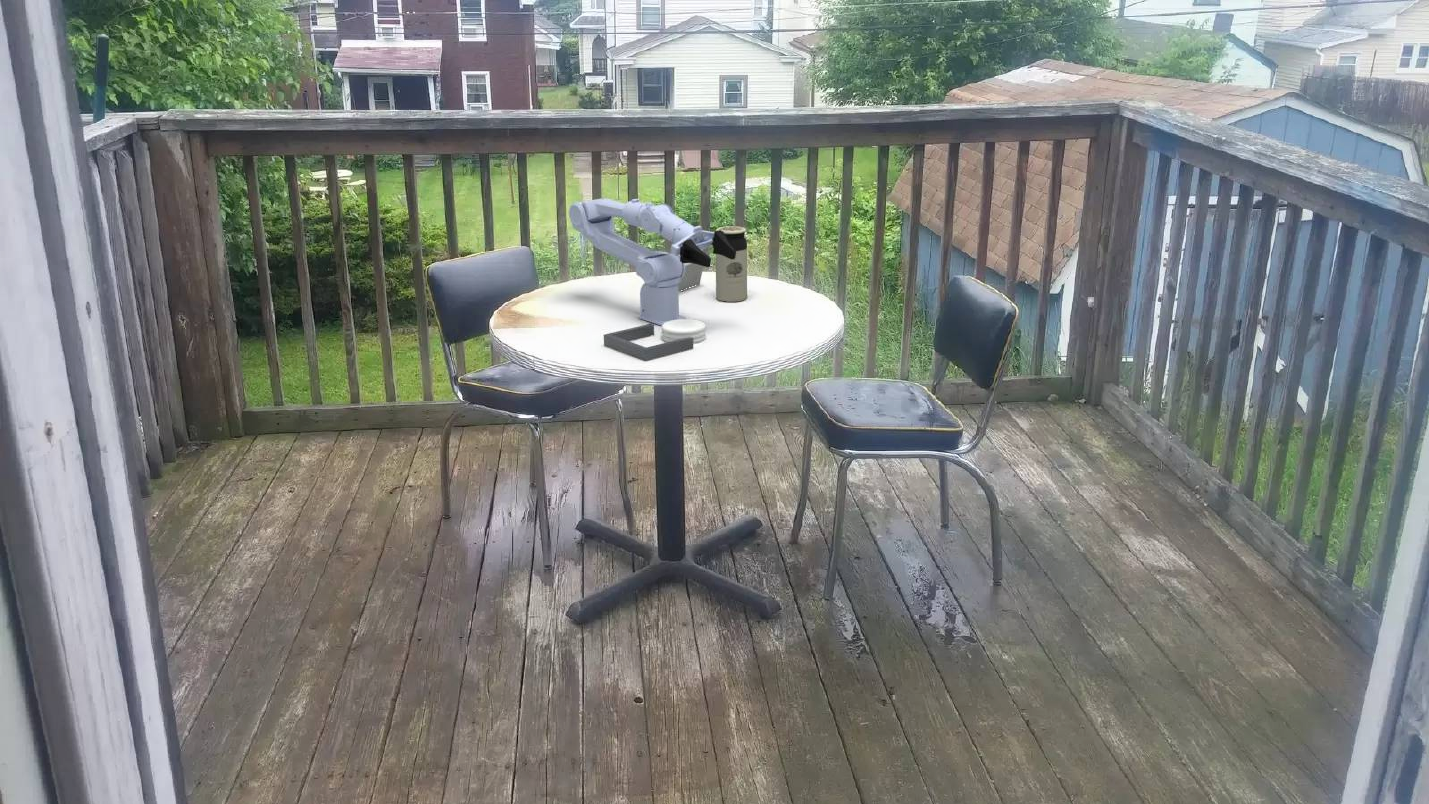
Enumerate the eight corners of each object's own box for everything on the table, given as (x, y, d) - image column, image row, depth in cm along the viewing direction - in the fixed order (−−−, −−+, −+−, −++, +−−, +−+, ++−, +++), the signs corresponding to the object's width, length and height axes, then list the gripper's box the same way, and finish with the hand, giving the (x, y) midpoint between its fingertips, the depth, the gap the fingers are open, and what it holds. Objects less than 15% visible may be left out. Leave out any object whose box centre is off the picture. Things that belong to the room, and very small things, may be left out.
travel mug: (716, 294, 291) (715, 226, 285) (747, 294, 291) (747, 225, 284) (715, 302, 283) (714, 232, 277) (746, 302, 283) (746, 232, 277)
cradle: (604, 345, 250) (603, 334, 249) (651, 333, 258) (650, 323, 257) (645, 361, 239) (645, 349, 238) (693, 348, 247) (693, 337, 246)
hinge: (685, 282, 304) (694, 249, 299) (698, 290, 302) (708, 257, 297) (646, 295, 291) (655, 261, 286) (659, 303, 289) (669, 269, 284)
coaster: (682, 330, 261) (681, 315, 260) (714, 338, 255) (714, 323, 254) (652, 340, 254) (652, 325, 253) (685, 348, 248) (685, 333, 247)
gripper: (660, 224, 250) (700, 250, 242) (707, 211, 259) (748, 236, 251) (656, 252, 254) (696, 278, 246) (703, 239, 263) (743, 263, 255)
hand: (722, 259), depth 249 cm, fingers open, 7 cm apart
